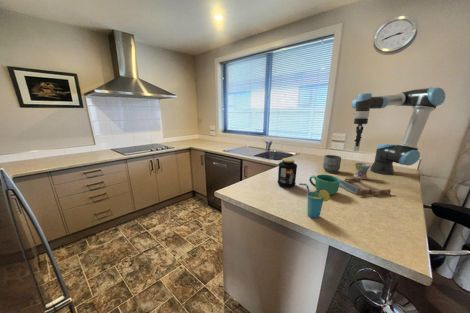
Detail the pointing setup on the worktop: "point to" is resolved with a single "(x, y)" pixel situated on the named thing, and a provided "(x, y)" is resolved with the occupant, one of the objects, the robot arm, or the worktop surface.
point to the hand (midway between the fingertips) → (356, 149)
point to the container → (287, 172)
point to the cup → (315, 202)
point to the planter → (331, 163)
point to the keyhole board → (361, 188)
